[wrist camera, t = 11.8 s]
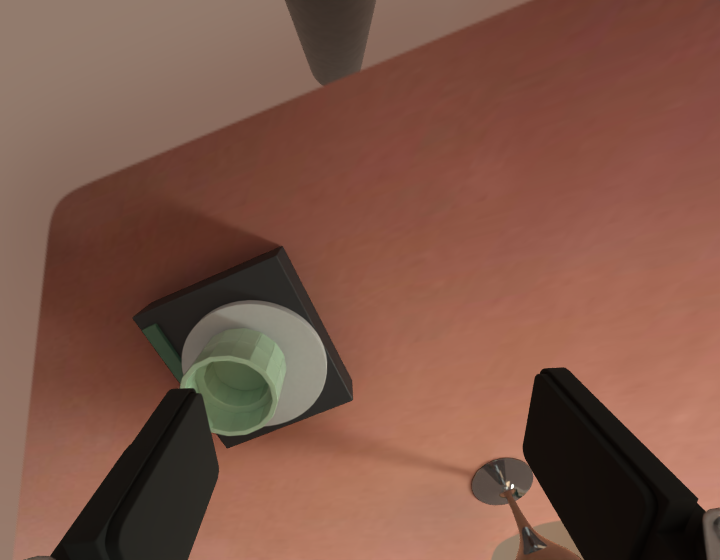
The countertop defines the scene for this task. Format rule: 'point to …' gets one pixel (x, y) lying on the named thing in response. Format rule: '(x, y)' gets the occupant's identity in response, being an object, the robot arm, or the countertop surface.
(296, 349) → the scale
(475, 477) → the wine glass
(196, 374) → the bowl
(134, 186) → the countertop surface
